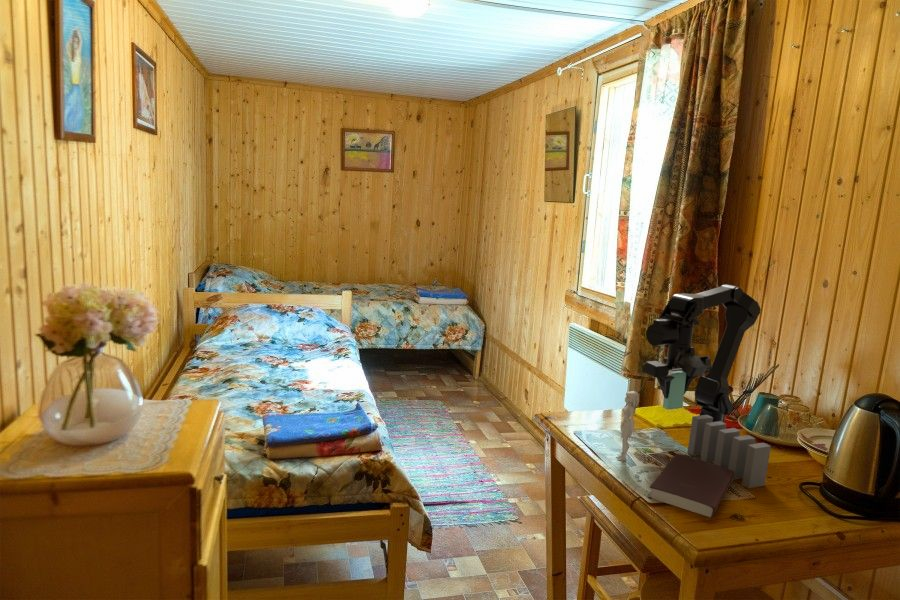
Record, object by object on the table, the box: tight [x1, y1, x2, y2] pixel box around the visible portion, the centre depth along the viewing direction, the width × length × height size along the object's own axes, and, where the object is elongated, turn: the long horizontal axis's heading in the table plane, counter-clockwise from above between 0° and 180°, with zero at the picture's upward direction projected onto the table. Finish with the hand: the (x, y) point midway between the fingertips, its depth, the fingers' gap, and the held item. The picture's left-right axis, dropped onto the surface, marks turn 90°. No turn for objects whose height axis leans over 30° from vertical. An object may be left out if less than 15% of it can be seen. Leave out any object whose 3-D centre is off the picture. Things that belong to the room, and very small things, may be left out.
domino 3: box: [713, 427, 741, 469], centre depth 155 cm, size 5×2×10 cm, turn 112°
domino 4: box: [728, 434, 756, 480], centre depth 151 cm, size 5×2×10 cm, turn 112°
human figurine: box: [615, 390, 640, 462], centre depth 156 cm, size 12×4×18 cm, turn 175°
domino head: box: [662, 370, 686, 411], centre depth 169 cm, size 5×2×10 cm, turn 111°
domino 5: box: [741, 442, 772, 489], centre depth 146 cm, size 5×2×10 cm, turn 112°
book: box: [646, 453, 734, 519], centre depth 143 cm, size 14×22×4 cm, turn 145°
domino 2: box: [699, 421, 727, 463], centre depth 159 cm, size 5×2×10 cm, turn 112°
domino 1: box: [687, 415, 713, 456], centre depth 163 cm, size 5×2×10 cm, turn 112°
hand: (673, 397), depth 170 cm, fingers closed on domino head, 5 cm apart
